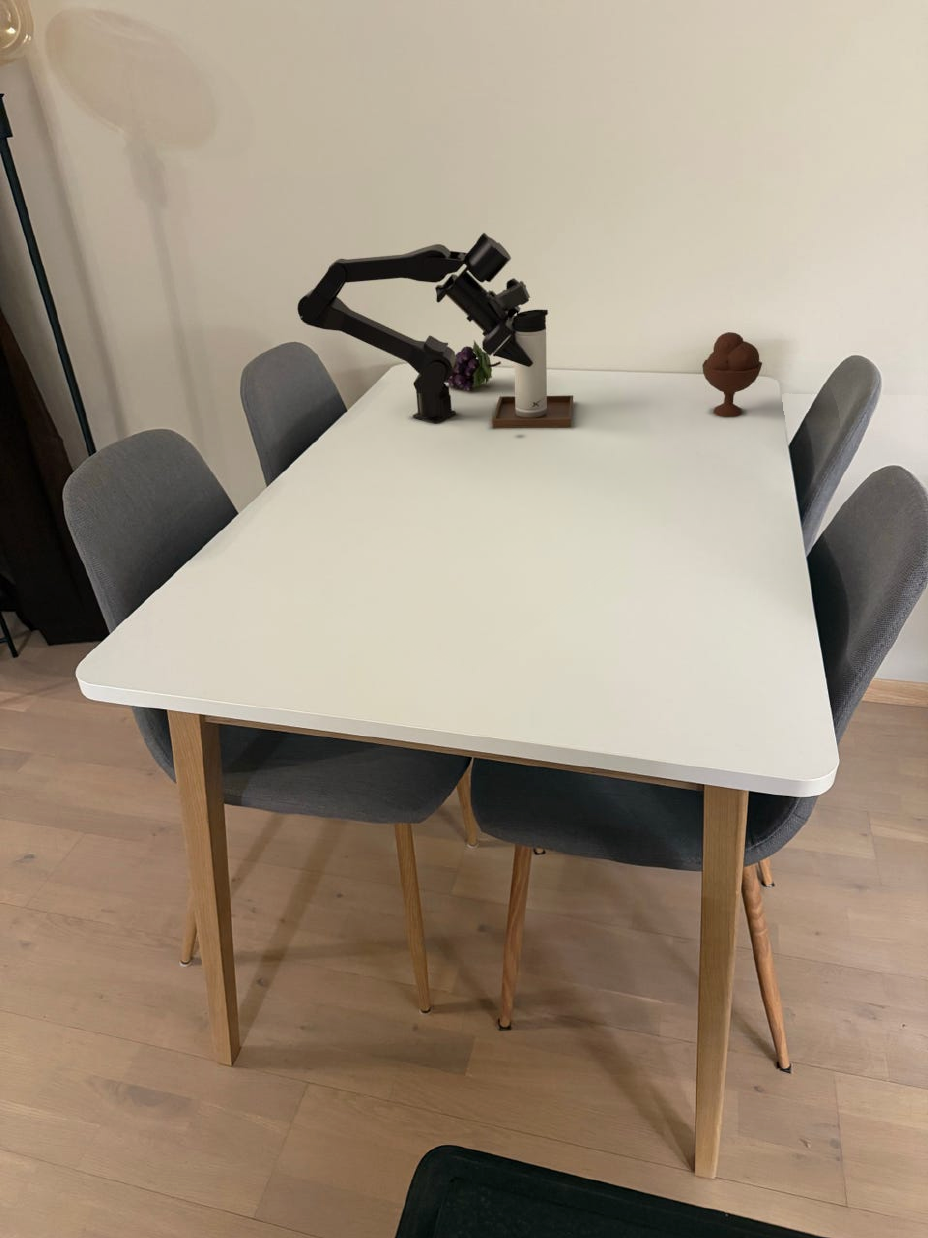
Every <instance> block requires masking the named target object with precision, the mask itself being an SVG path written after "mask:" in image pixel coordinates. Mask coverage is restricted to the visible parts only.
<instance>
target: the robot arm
mask: <svg viewBox="0 0 928 1238" xmlns="http://www.w3.org/2000/svg"><path fill="white" fill-rule="evenodd" d="M511 260H512V257H511V255H510V253H509V252H508V251H507V250H506V248H505V247H504V246H503V245H502V244H501V243H500V242H498V241H496V240H495V239H493V238H492V237H490V236H489V235H488V234H487V233H486V232H482V233H481V235H480V236H479V237H478V238H477V240H476V243H474V245H473V246H472V247H471V248H470V249H469V251H467V252H465V251H464V252H463V251H454V250H450V249H449V248H447V246H445V245H444V244H442V243H441V244H440V243H435V244H432V245H428V246H425V247H421V248H418V249H416V250H412V251H410V252H406V253H404V254H393V255H383V256H382V255H381V256H372V257H371V256H370V257H361V258H360V257H359V258H350V259H346V258H338V259H336V260H335V261H333V262H332V263H331V264H330V265H329V267H328V268H327V270H326V272H325V273H324V276H322V277H321V279H320V281H319V282H318V283H317V284H316V285H315V286H314V288H313V289H311V290H309V292H307V293H306V294H305V295H304V296H302V298H300V299H299V300H298V303H297V314H298V316H299V318H300V321H301V322H302V323H304V324H305V325H307V326H311V327H314V328H317V329H321V330H327V331H338V332H342V333H344V334H346V335H348V336H351V337H353V338H355V339H357V340H359V341H361V342H363V343H366V344H367V345H370V346H372V347H373V348H376V349H379V350H381V351H383V352H385V353H387V354H389V355H391V356H393V357H396V358H398V359H400V360H402V361H405V362H406V363H407V364H408V365H409V366H410V367H411V368H413V370H414V371H415V372H416V373H417V374H418V375H417V376H416V378H415V379H414V381H413V383H412V385H413V386H414V389H415V394H416V406H417V412H416V413H414V414H412V418H414V419H416V420H417V419H418V420H421V421H425V422H430V423H433V424H436V423H439V422H441V421H443V420H445V419H449V418H450V417H451V418H452V417H453V416H454V415H456V414H457V412H456V411H455V410H452V396H451V394H450V385H447V383H445V382H446V381H447V380H448V379H449V378H450V377H451V375H452V373H453V371H454V369H455V367H456V364H457V357H456V353H455V351H454V349H452V348H451V347H450V346H449V343H448V342H443V341H440V340H439V339H437V338H436V337H435V336H433V335H428V337H427V338H426V340H425V341H424V340H417V339H415V338H412V337H410V336H407V335H405V334H403V333H401V332H399V331H397V330H395V329H393V328H390V327H389V326H386V325H384V324H382V323H380V322H378V321H375V320H373V319H371V318H369V317H367V316H365V315H363V314H361V313H359V312H357V311H354V310H352V309H350V307H348V305H346V303H344V302H343V301H342V299H341V298H339V297H338V296H339V294H340V293H341V291H342V289H343V288H344V286H345V285H346V283H359V282H371V281H383V280H395V279H406V280H407V279H408V280H412V281H415V282H423V283H434V284H435V283H440V282H442V281H443V280H444V279H445V278H446V277H447V276H448V275H450V276H449V277H448V278H447V279H446V281H444V282H443V284H437V285H436V286H435V288H434V289H435V293H436V300H435V301H436V303H437V304H438V303H441V301H443V299H445V297H448V299H449V300H451V301H452V303H453V304H455V305H456V306H457V307H458V308H459V309H460V310H461V311H462V312H463V313H464V314H465V315H466V320H467V321H468V322H469V323H471V322H473V323H474V324H475V325H476V326H477V327H478V328H480V330H482V335H483V339H482V342H481V343H482V344H481V345H482V347H481V349H482V351H485V353H487V354H488V356H489V357H491V356H493V357H497V358H501V359H505V360H507V361H510V362H513V363H514V362H516V363H519V364H521V365H524V366H527V367H530V366H531V365H532V364H533V362H532V360H531V359H530V357H529V356H528V355H527V353H526V352H525V351H524V349H523V348H522V347H521V345H520V344H519V343H518V341H517V336H516V329H515V330H514V331H513V329H514V324H513V317H514V316H516V315H517V314H518V313H520V312H521V307H520V306H523V305H525V304H527V303H528V302H529V301H530V298H531V296H530V293H529V292H528V289H527V285H526V284H525V283H524V281H522V280H520V281H518V280H517V279H516V278H515V277H513V278H511V279H509V280H507V281H506V285H505V286H506V288H505V289H503V290H502V291H500V292H498V293H497V294H496V292H495V291H493V290H488V291H487V290H486V289H485V288H484V287H483V286H482V285H481V284H482V283H485V282H488V283H491V282H493V280H494V279H495V278H496V276H497V275H498V274H499V273H500V272H501V271H502V270H503V269H504V268H505V266H506V265H507V264H509V262H510V261H511ZM464 265H465V266H466V267H464V269H463V270H462V271H461V272H460V273H459V274H458V275H457V274H455V273H458V272H459V271H460V269H461V268H462V267H463V266H464ZM480 283H481V284H480Z"/></svg>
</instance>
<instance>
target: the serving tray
mask: <svg viewBox="0 0 928 1238" xmlns="http://www.w3.org/2000/svg"><path fill="white" fill-rule="evenodd" d="M495 406H496V407H495V409H494V413H493V416H492V419H491V422H492V423H491V425H492V429H557V428H559V429H561V428H564V429H565V428H567V429H568V428H569V429H570V428H572V421H573V411H574V395H573V394H572V395H569V394H568V395H547V413H546V414H545V415H543V416H541V417H538V418H522V417H519V416H518V415H516V409H515V406H516V405H515V395H506V396H505V395H499V397H498V400H497V403H496V405H495Z"/></svg>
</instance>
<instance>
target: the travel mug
mask: <svg viewBox="0 0 928 1238" xmlns="http://www.w3.org/2000/svg"><path fill="white" fill-rule="evenodd" d="M548 314H549V311H548V309H529V310H524V311H520V312H519V313H518V314H517V313H516V314H515V315H514V317H513V324H514V329H513V331H514V330H515V329H516V336H517V341H518V343H519V344H520V345H521V347H522V348H523V349H524V351H525V352H526V353H527V355H528V356H529V357H530V359H531V360H532V362H533V364H532V365H531V366H530V367H527V366H524V365H521V364H519V363H516V362H513V368H514V370H513V371H514V372H513V373H514V396H515V405H516V406H515V409H516V415H518V416H519V417H522V418H538V417H541V416H543V415H545V414H546V413H547V396H548V391H547V390H548V388H547V387H548V385H547V383H548V380H547V376H548V373H547V371H548V370H547V369H548V368H547V367H548V365H547V324H546V323H547V315H548Z"/></svg>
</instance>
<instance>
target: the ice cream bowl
mask: <svg viewBox="0 0 928 1238" xmlns="http://www.w3.org/2000/svg"><path fill="white" fill-rule="evenodd" d="M712 351H713V352H711V353H710V354H709V356H708V357H707V359H704V361H703V363H702V364H701V365H702V366H701V367H702V373H703V376H704V379H705V380H706V381H707V382H708V384H710V385H711V386H712V387H713V388H715V389H716V390H718V391H720V392H722V393H723V395H724V397H723V403H721V404H718V405H717V406H715V407H714V408H713V412H712V413H713V414H714V415H716V416H719V417H724V418H735V417H738V416H741V415H742V413H743V409H742V408H741V407H739V406H738V405H736V404H734V398H735V397H734V396H735V394H736V393H737V392H741V391H744V390H745V389H747V388H749V387H750V386H751V385H752V384H754V383H755V382H756V380H757V378H758V377H759V374H760V372H761V369H762V366H763V362H762V361H760V353H759V351H758V349H757V347H755V345H753V344H752V343H750V342H748V341H746V340H744V338H743V336H741V335H740V334H739V333H736V332H731V331H730V332H729V331H728V332H724V333H722V334H721V335H720V336H718V337H717V339H716V341H715V343H714V345H713V350H712Z"/></svg>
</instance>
